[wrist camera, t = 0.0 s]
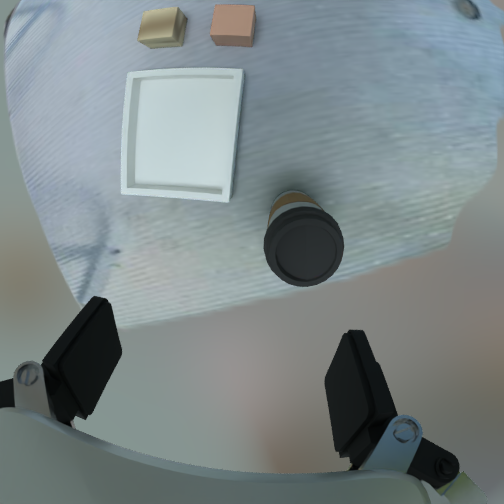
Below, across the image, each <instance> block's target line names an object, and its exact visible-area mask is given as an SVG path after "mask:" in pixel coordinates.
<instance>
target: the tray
mask: <svg viewBox="0 0 504 504" xmlns="http://www.w3.org/2000/svg"><path fill="white" fill-rule="evenodd" d="M244 77H245V74H244V71H243V69H233V68H171V69H156V70H144V71H135V72H128V73H127V81H126V89H125V99H124V110H123V123H122V142H121V194H126V195H143V196H157V197H171V198H183V199H195V200H206V201H216V202H226V203H229V201H230V199H231V197H232V190H233V179H234V169H235V159H236V149H237V139H238V130H239V120H240V111H241V103H242V94H243V86H244Z"/></svg>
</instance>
